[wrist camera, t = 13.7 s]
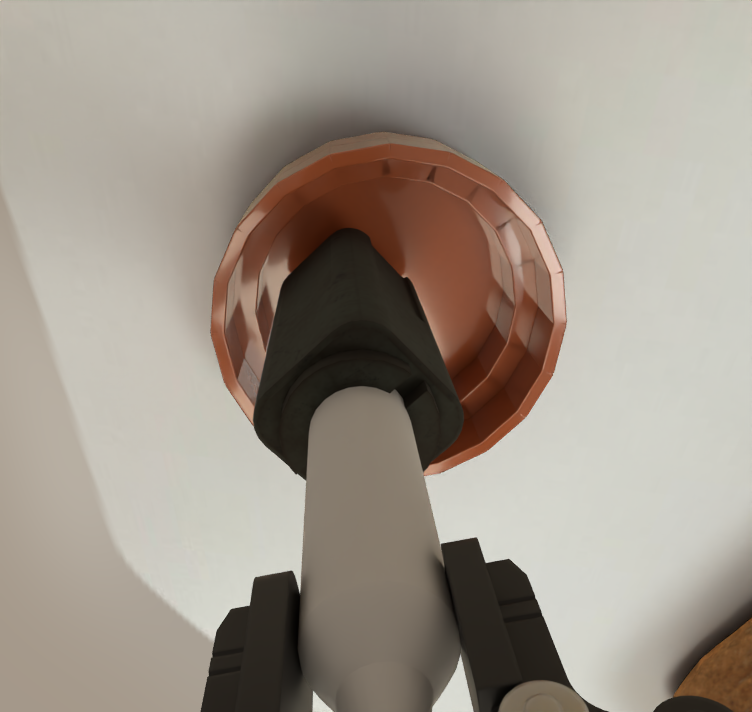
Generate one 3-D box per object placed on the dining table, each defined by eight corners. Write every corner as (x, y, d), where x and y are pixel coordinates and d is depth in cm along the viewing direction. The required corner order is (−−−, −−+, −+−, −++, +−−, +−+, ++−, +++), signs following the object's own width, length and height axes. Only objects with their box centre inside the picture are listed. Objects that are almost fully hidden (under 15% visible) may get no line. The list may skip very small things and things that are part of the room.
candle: (426, 296, 33) (663, 840, 10) (346, 367, 34) (386, 1010, 11) (350, 216, 31) (414, 637, 8) (268, 293, 32) (117, 862, 9)
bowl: (269, 442, 39) (258, 505, 33) (196, 163, 33) (167, 183, 28) (541, 394, 39) (575, 449, 33) (516, 105, 33) (552, 113, 27)
